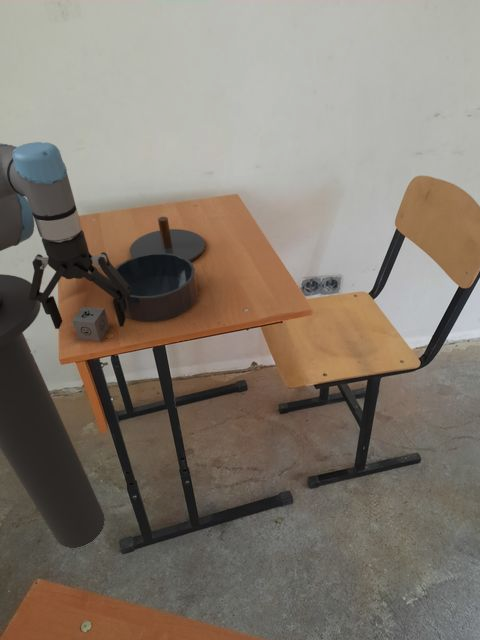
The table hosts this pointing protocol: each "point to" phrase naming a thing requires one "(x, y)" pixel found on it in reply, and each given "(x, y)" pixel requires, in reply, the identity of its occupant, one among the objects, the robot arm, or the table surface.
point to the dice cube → (90, 323)
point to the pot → (158, 286)
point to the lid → (169, 242)
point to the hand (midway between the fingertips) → (90, 324)
